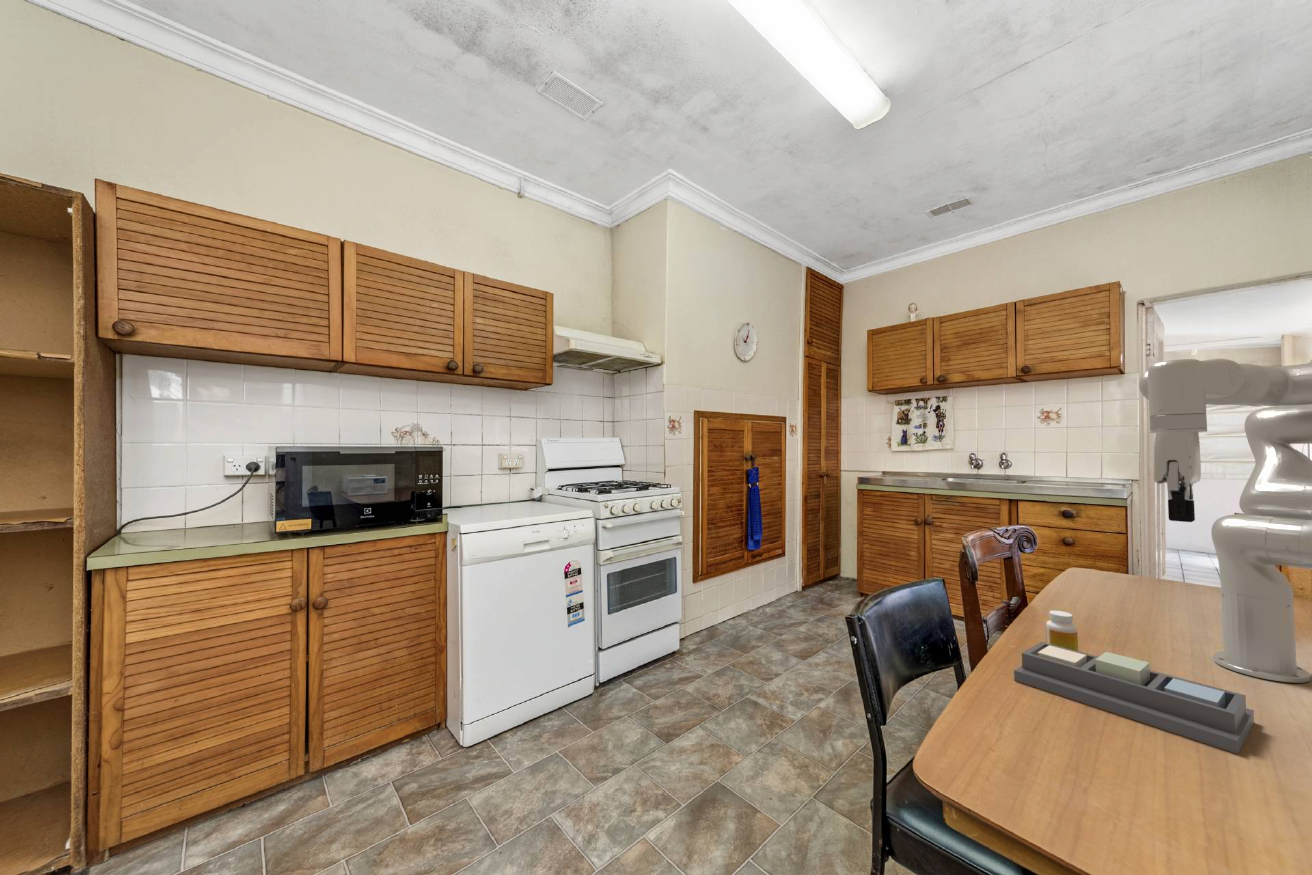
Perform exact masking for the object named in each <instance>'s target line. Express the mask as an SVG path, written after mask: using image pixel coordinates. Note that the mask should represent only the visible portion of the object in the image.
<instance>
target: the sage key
mask: <svg viewBox="0 0 1312 875" xmlns="http://www.w3.org/2000/svg"><path fill="white" fill-rule="evenodd" d="M1095 662H1096V672H1097V673H1100V674H1104V675H1107V676H1111V677H1114V678H1118V679H1121V680H1125V681H1128V682H1132V683H1135V684H1139V685H1142V686H1144V685H1145V684H1146V683H1147V682H1148V681H1149V680H1150V670H1151V669H1150V662H1149V661H1144V660H1140V659H1137V658H1134V657H1129V656H1124V655H1120V654H1116V653H1113V652H1110V651H1105V652H1103V653H1102V654H1101V655H1100V656H1098V658H1097V659H1095Z"/></svg>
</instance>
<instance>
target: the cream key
mask: <svg viewBox="0 0 1312 875" xmlns="http://www.w3.org/2000/svg"><path fill="white" fill-rule="evenodd" d="M1038 656H1040V657H1044V658H1047V659H1051V660H1055V661H1058V662H1062V663H1065V664H1069V665H1072V666H1076V667H1079V668H1081V667H1082V666H1083V665H1085V664H1086V663H1087V658H1086V655H1084V654H1080V653H1076V652H1073V651H1069V650H1065V649H1061V648H1058V647H1054V646H1050V645H1049V646H1047V647H1046V648H1044V649H1042V650H1041V651H1039V652H1038Z"/></svg>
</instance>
